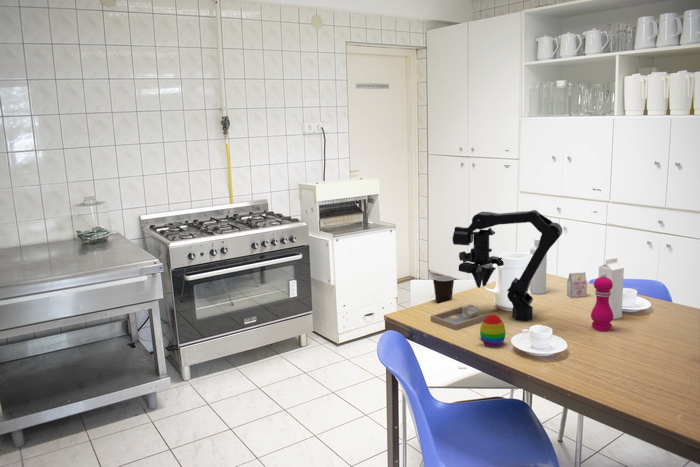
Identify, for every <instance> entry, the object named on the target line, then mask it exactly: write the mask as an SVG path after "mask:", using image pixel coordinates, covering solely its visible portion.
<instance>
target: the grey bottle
mask: <svg viewBox="0 0 700 467" xmlns="http://www.w3.org/2000/svg"><path fill="white" fill-rule="evenodd" d="M540 238H541V237H535V238H534V239H533V240H534V242H533V243H534V246H533V247H531V249H529V250H530V251H529V252H530V253H529V255H530V254H532V255H533V254H534V253H535V251H536V249H537V247H538V245H539V241H540ZM547 254H548V252H547V253H546V255H545V257H544V259H543V260H542V262H541V264H540V266H539V267H538V269H537V271H536V273H535V274H534V276H533V278H532V280H531V282H530V286H529V292H530V291H531V293H530V294H532V295H536V296H537V295H538V296H539V295H545V294H546V293H547V260H548V259H547Z"/></svg>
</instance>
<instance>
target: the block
mask: <svg viewBox="0 0 700 467" xmlns="http://www.w3.org/2000/svg"><path fill="white" fill-rule="evenodd" d="M478 316H479V306H477V305H473V304H467V305H464V306H463V317H465V318H468V319H472V318H476V317H478Z"/></svg>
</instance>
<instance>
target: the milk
mask: <svg viewBox="0 0 700 467" xmlns="http://www.w3.org/2000/svg"><path fill="white" fill-rule="evenodd" d="M624 270H625V269H624V267H623V265H621V264H620V263H619V262H618V257H613V258H609V259H605V264H603V265H600V266H598V278H599V277H601V274H602V273H605V274H606V277H607V278H609V279H610V280H611V281H612V283H613V287H612V289H611V290H610V291H611V296H609V305H610V308H611V310H612V312H613V320H612V321H614V320H617V319H621V318H622V316H623V298H624V297H623V296H624V273H625V272H624Z"/></svg>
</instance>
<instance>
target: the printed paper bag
mask: <svg viewBox="0 0 700 467" xmlns="http://www.w3.org/2000/svg"><path fill="white" fill-rule="evenodd" d="M586 274H587V273H586V272H573V273H572V272H570V273H568V278H567V282H566V296H567V297H569V298H570V299H575V298H577V299H578V298H587V296H588V293H587V292H588V281H587V276H586Z"/></svg>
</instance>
